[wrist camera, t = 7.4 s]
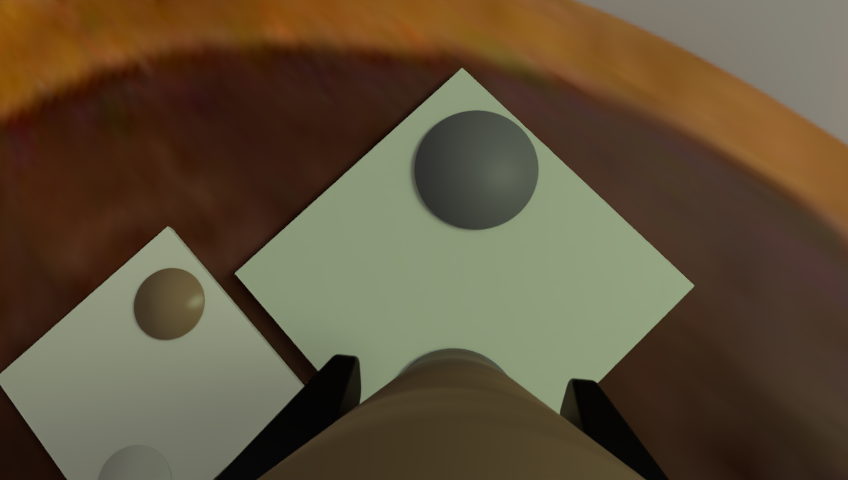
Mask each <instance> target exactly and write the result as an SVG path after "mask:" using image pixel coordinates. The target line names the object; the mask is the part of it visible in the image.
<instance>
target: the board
mask: <svg viewBox="0 0 848 480" xmlns="http://www.w3.org/2000/svg"><path fill="white" fill-rule="evenodd" d="M235 274H236V275H237V277H238V278H239V279H240V280H241V281H242V282H243V284H244V285H245V286H246V287H247V288H248V290H249V291H250V292H251V293H252V294H253V295H254V297H255V298H256V299H257V300H258V301H259V302H260V304H261V305H262V306H263V307H264V308H265V309H266V311H267V312H268V313H269V314H270V315H271V316H272V318H273V319H274V320H275V321H276V322H277V323H278V325H279V326H280V327H281V328H282V329H283V331H284V332H285V333H286V334H287V335H288V336H289V338H290V339H291V340H292V341H293V342H294V343H295V345H296V346H297V347H298V348H299V349H300V350H301V352H302V353H303V354H304V355H305V356H306V357H307V359H308V360H309V361H310V362H311V363H312V364H313V366H314V367H315V368H316V369H317V370H318V371H319V370H320V369H321V368H322V367H323V366H324V365H325V364H326V363H327V362H328V361H329V360H330V359H331V357H333V356H334V355H336V354H345V355H355V356H357V357H358V358H359V361H360V374H361V399H360V404H361V403H362V402H363V401H365V400H366V399H367V398H369V397H370V396H371V395H373V394H374V393H376V392H377V391H378V390H380V389H381V388H382V387H384V386H385V385H386V384H388V383H389V382H391V381H392V380H393V379H395V378H396V377H397V376H399V375H400V374H401V373H403V372H404V371H406V370H407V369H408V368H410V367H411V366H412V365H414V364H415V363H416V362H418V361H419V360H421V359H422V358H424V357H425V356H427V355H429V354H431V353H434V352H437V351H441V350H448V349H459V350H465V351H469V352H472V353H475V354H477V355H479V356H481V357H483V358H485V359H486V360H488V361H489V362H490V363H492V364H493V365H494V366H496V367H497V368H498V369H500V370H501V371H502V372H504V373H505V374H506V375H508V376H509V377H510V378H512V379H513V380H514V381H516V382H517V383H518V384H519V385H521V386H522V387H523V388H525V389H526V390H527V391H529V392H530V393H531V394H533V395H534V396H535V397H537V398H538V399H539V400H541V401H542V402H543V403H545V404H546V405H547V406H549V407H550V408H551V409H553V410H554V411H555V412H557V413H558V414H559V415H560V409H561V405H562V401H563V398H564V394H565V391H566V387H567V384H568V382H569V380H570V379H572V378H579V379H588V380H594V381H595V382H597V383H598V382H599V381H600V380H601V379H602V378H603V377H604V376H605V375H606V374H607V373H608V372H609V371H610V370H611V369H612V368H613V367H614V366H615V365H616V364H617V363H618V362H619V361H620V360H621V359H622V358H623V357H624V356H625V355H626V354H627V353H628V352H629V351H630V350H631V349H632V348H633V347H634V346H635V345H636V344H637V343H638V342H639V341H640V340H641V339H642V338H643V337H644V336H645V335H646V334H647V333H648V332H649V331H650V330H651V329H652V328H653V327H654V326H655V325H656V324H657V323H658V322H659V321H660V320H661V319H662V318H663V317H664V316H665V315H666V314H667V313H668V312H669V311H670V310H671V309H672V308H673V307H674V306H675V305H676V304H677V303H678V302H679V301H680V300H681V299H682V298H683V297H684V296H685V295H686V294H687V293H688V292H689V291H690V290H691V289H692V288H693V287H694V285H693V284H692V283H691V282H690V281H689V280H688V279H687V278H686V277H685V276H684V275H682V274H681V273H680V272H679V271H678V270H677V269H676V268H675V267H674V266H673V265H672V264H671V263H670V262H669V261H668V260H666V259H665V258H664V257H663V256H662V255H661V254H660V253H659V252H658V251H657V250H656V249H655V248H654V247H653V246H652V245H651V244H649V243H648V242H647V241H646V240H645V239H644V238H643V237H642V236H641V235H640V234H639V233H638V232H637V231H636V230H635V229H633V228H632V227H631V226H630V225H629V224H628V223H627V222H626V221H625V220H624V219H623V218H622V217H621V216H620V215H619V214H617V213H616V212H615V211H614V210H613V209H612V208H611V207H610V206H609V205H608V204H607V203H606V202H605V201H604V200H603V199H601V198H600V197H599V196H598V195H597V194H596V193H595V192H594V191H593V190H592V189H591V188H590V187H589V186H588V185H587V184H586V183H584V182H583V181H582V180H581V179H580V178H579V177H578V176H577V175H576V174H575V173H574V172H573V171H572V170H571V169H570V168H568V167H567V166H566V165H565V164H564V163H563V162H562V161H561V160H560V159H559V158H558V157H557V156H556V155H555V154H554V153H552V152H551V151H550V150H549V149H548V148H547V147H546V146H545V145H544V144H543V143H542V142H541V141H540V140H539V139H538V138H536V137H535V136H534V135H533V134H532V133H531V132H530V131H529V130H528V129H527V128H526V127H525V126H524V125H523V124H522V123H521V122H519V121H518V120H517V119H516V118H515V117H514V116H513V115H512V114H511V113H510V112H509V111H508V110H507V109H506V108H505V107H503V106H502V105H501V104H500V103H499V102H498V101H497V100H496V99H495V98H494V97H493V96H492V95H491V94H490V93H489V92H487V91H486V90H485V89H484V88H483V87H482V86H481V85H480V84H479V83H478V82H477V81H476V80H475V79H474V78H473V77H471V76H470V75H469V74H468V73H467V72H466V71H465V70H464V69H463V68H461V69H460V70H459V71H458V72H457V73H456V74H455V75H454V76H453V77H451V78H450V79H449V80H448V81H447V82H446V83H445V84H444V85H443V86H442V87H440V88H439V89H438V90H437V91H436V92H435V93H434V94H433V95H432V96H430V97H429V98H428V99H427V100H426V101H425V102H424V103H423V104H422V105H420V106H419V107H418V108H417V109H416V110H415V111H414V112H413V113H412V114H411V115H409V116H408V117H407V118H406V119H405V120H404V121H403V122H402V123H401V124H399V125H398V126H397V127H396V128H395V129H394V130H393V131H392V132H391V133H389V134H388V135H387V136H386V137H385V138H384V139H383V140H382V141H381V142H380V143H378V144H377V145H376V146H375V147H374V148H373V149H372V150H371V151H370V152H368V153H367V154H366V155H365V156H364V157H363V158H362V159H361V160H360V161H358V162H357V163H356V164H355V165H354V166H353V167H352V168H351V169H350V170H349V171H347V172H346V173H345V174H344V175H343V176H342V177H341V178H340V179H339V180H337V181H336V182H335V183H334V184H333V185H332V186H331V187H330V188H329V189H327V190H326V191H325V192H324V193H323V194H322V195H321V196H320V197H319V198H317V199H316V200H315V201H314V202H313V203H312V204H311V205H310V206H309V207H308V208H306V209H305V210H304V211H303V212H302V213H301V214H300V215H299V216H298V217H296V218H295V219H294V220H293V221H292V222H291V223H290V224H289V225H288V226H286V227H285V228H284V229H283V230H282V231H281V232H280V233H279V234H278V235H277V236H275V237H274V238H273V239H272V240H271V241H270V242H269V243H268V244H267V245H265V246H264V247H263V248H262V249H261V250H260V251H259V252H258V253H257V254H255V255H254V256H253V257H252V258H251V259H250V260H249V261H248V262H247V263H246V264H244V265H243V266H242V267H241V268H240V269H239V270H238V271H237V272H236V273H235Z"/></svg>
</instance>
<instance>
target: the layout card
mask: <svg viewBox="0 0 848 480" xmlns="http://www.w3.org/2000/svg"><path fill="white" fill-rule="evenodd" d="M0 385H1V386H2V388H3V389H4V391H5V392H6V394H7V395H8V396H9V398H10V399H11V401H12V402H13V403H14V405H15V406H16V408H17V409H18V411H19V412H20V413H21V415H22V416H23V418H24V419H25V420H26V422H27V423H28V425H29V426H30V428H31V429H32V430H33V432H34V433H35V435H36V436H37V437H38V439H39V440H40V442H41V443H42V445H43V446H44V447H45V449H46V450H47V452H48V453H49V454H50V456H51V457H52V459H53V460H54V462H55V463H56V464H57V466H58V467H59V469H60V470H61V471H62V473H63V474H64V476H65V477H66V479H67V480H214V479H215V478H216V477H217V476H218V475H219V474H220V473H221V472H222V471H223V470H224V469H225V468H226V467H227V466H228V465H229V464H230V463H231V462H232V461H233V460H234V459H235V458H236V457H237V456H238V455H239V454H240V453H241V452H242V451H243V450H244V448H245V447H246V446H247V445H248V444H249V443H250V442H251V441H252V440H253V439H254V438H255V437H256V436H257V435H258V434H259V433H260V432H261V431H262V430H263V429H264V428H265V427H266V425H267V424H268V423H269V422H270V421H271V420H272V419H273V418H274V417H275V416H276V415H277V414H278V413H279V412H280V411H281V410H282V409H283V408H284V407H285V406H286V405H287V403H288V402H289V401H290V400H291V399H292V398H293V397H294V396H295V395H296V394H297V393H298V392H299V391H300V390H301V389H302V388H303V387H304V385H303V383H302V382H301V381H300V380H299V379H298V378H297V376H296V375H295V374H294V373H293V372H292V370H291V369H290V368H289V367H288V366H287V364H286V363H285V362H284V361H283V360H282V359H281V357H280V356H279V355H278V354H277V353H276V351H275V350H274V349H273V348H272V347H271V345H270V344H269V343H268V342H267V341H266V340H265V338H264V337H263V336H262V335H261V334H260V332H259V331H258V330H257V329H256V328H255V326H254V325H253V324H252V323H251V322H250V321H249V319H248V318H247V317H246V316H245V315H244V313H243V312H242V311H241V310H240V309H239V307H238V306H237V305H236V304H235V303H234V302H233V300H232V299H231V298H230V297H229V296H228V294H227V293H226V292H225V291H224V290H223V288H222V287H221V286H220V285H219V284H218V283H217V281H216V280H215V279H214V278H213V277H212V275H211V274H210V273H209V272H208V271H207V269H206V268H205V267H204V266H203V265H202V264H201V262H200V261H199V260H198V259H197V258H196V256H195V255H194V254H193V253H192V252H191V250H190V249H189V248H188V247H187V246H186V245H185V243H184V242H183V241H182V240H181V239H180V237H179V236H178V235H177V234H176V233H175V231H174V230H173V229H172V228H171V227H166V228H165V229H164V230H163V231H162V232H161V233H160V234H159V235H157V236H156V237H155V238H154V239H153V240H152V241H151V242H149V243H148V244H147V245H146V246H145V247H144V248H143V249H141V250H140V251H139V252H138V253H137V254H136V255H135V256H134V257H132V258H131V259H130V260H129V261H128V262H127V263H126V264H124V265H123V266H122V267H121V268H120V269H119V270H118V271H117V272H115V273H114V274H113V275H112V276H111V277H110V278H109V279H107V280H106V281H105V282H104V283H103V284H102V285H101V286H99V287H98V288H97V289H96V290H95V291H94V292H93V293H92V294H90V295H89V296H88V297H87V298H86V299H85V300H84V301H82V302H81V303H80V304H79V305H78V306H77V307H76V308H75V309H73V310H72V311H71V312H70V313H69V314H68V315H67V316H65V317H64V318H63V319H62V320H61V321H60V322H59V323H57V324H56V325H55V326H54V327H53V328H52V329H51V330H50V331H48V332H47V333H46V334H45V335H44V336H43V337H42V338H40V339H39V340H38V341H37V342H36V343H35V344H34V345H33V346H31V347H30V348H29V349H28V350H27V351H26V352H25V353H23V354H22V355H21V356H20V357H19V358H18V359H17V360H15V361H14V362H13V363H12V364H11V365H10V366H9V367H8V368H6V369H5V370H4V371H3V372H2V373H1V374H0Z"/></svg>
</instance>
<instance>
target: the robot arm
mask: <svg viewBox="0 0 848 480" xmlns="http://www.w3.org/2000/svg"><path fill="white" fill-rule="evenodd" d="M360 399H361V374H360V361H359V358H358V357H357V356H355V355H345V354H336V355H334V356H333V357H331V359H330V360H329V361H328V362H327V363H326V364H325V365H324V366H323V367H322V368H321V369H320V370H319V371H318V372H317V373H316V374H315V375H314V376H313V377H312V378H311V379H310V380H309V382H308V383H307V384H306V385H305V386H304V387H303V388H302V389H301V390H300V391H299V392H298V393H297V394H296V395H295V396H294V397H293V398H292V399H291V400H290V401H289V402H288V403H287V405H286V406H285V407H284V408H283V409H282V410H281V411H280V412H279V413H278V414H277V415H276V416H275V417H274V418H273V419H272V420H271V421H270V422H269V423H268V424H267V425H266V427H265V428H264V429H263V430H262V431H261V432H260V433H259V434H258V435H257V436H256V437H255V438H254V439H253V440H252V441H251V442H250V443H249V444H248V445H247V446H246V447H245V448H244V450H243V451H242V452H241V453H240V454H239V455H238V456H237V457H236V458H235V459H234V460H233V461H232V462H231V463H230V464H229V465H228V466H227V467H226V468H225V469H224V470H223V471H222V473H221V474H220V475H219V476H218V477H217V478H216V479H215V480H257V479H258V478H260V477H261V476H262V475H264V474H265V473H266V472H268V471H269V470H271V469H272V468H273V467H275V466H276V465H277V464H279V463H280V462H281V461H283V460H284V459H286V458H287V457H288V456H290V455H291V454H292V453H294V452H295V451H296V450H298V449H299V448H301V447H302V446H303V445H305V444H306V443H307V442H309V441H310V440H311V439H313V438H314V437H316V436H317V435H318V434H320V433H321V432H322V431H324V430H325V429H326V428H328V427H329V426H331V425H332V424H333V423H335V422H336V421H337V420H339V419H340V418H341V417H343V416H344V415H346V414H347V413H348V412H350V411H351V410H352V409H354V408H355V407H356V406H358V405H359V404H360ZM560 415H561V416H562V417H563V418H565V419H566V420H567V421H569V422H570V423H571V424H573V425H574V426H575V427H577V428H578V429H579V430H581V431H582V432H583V433H585V434H586V435H587V436H588V437H590V438H591V439H592V440H594V441H595V442H596V443H598V444H599V445H600V446H602V447H603V448H604V449H606V450H607V451H608V452H610V453H611V454H612V455H614V456H615V457H616V458H618V459H619V460H620V461H622V462H623V463H624V464H626V465H627V466H628V467H630V468H631V469H632V470H634V471H635V472H636V473H638V474H639V475H640V476H642V477H643V478H644V479H646V480H669V479H668V477H667V476H666V475H665V473H664V472H663V471H662V469H661V468H660V467H659V465H658V464H657V463H656V461H655V460H654V458H653V457H652V456H651V454H650V453H649V452H648V450H647V449H646V448H645V446H644V445H643V444H642V442H641V441H640V440H639V438H638V437H637V436H636V434H635V433H634V432H633V430H632V429H631V427H630V426H629V425H628V423H627V422H626V421H625V419H624V418H623V417H622V415H621V414H620V413H619V411H618V410H617V409H616V407H615V406H614V405H613V403H612V402H611V401H610V399H609V398H608V396H607V395H606V394H605V392H604V391H603V390H602V388H601V387H600V386H599V384H598V383H597V382H595V381H594V380H588V379H579V378H572V379H570V380H569V382H568V384H567V387H566V391H565V394H564V398H563V401H562V405H561V409H560Z"/></svg>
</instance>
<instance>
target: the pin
mask: <svg viewBox="0 0 848 480" xmlns="http://www.w3.org/2000/svg"><path fill="white" fill-rule="evenodd" d="M257 480H646V479H644V478H643V477H642V476H640V475H639V474H638V473H636V472H635V471H634V470H632V469H631V468H630V467H628V466H627V465H626V464H624V463H623V462H622V461H620V460H619V459H618V458H616V457H615V456H614V455H612V454H611V453H610V452H608V451H607V450H606V449H604V448H603V447H602V446H600V445H599V444H598V443H596V442H595V441H594V440H592V439H591V438H590V437H588V436H587V435H586V434H585V433H583V432H582V431H581V430H579V429H578V428H577V427H575V426H574V425H573V424H571V423H570V422H569V421H567V420H566V419H565V418H563V417H562V416H561V415H559V414H558V413H557V412H555V411H554V410H553V409H551V408H550V407H549V406H547V405H546V404H545V403H543V402H542V401H541V400H539V399H538V398H537V397H535V396H534V395H533V394H531V393H530V392H529V391H527V390H526V389H525V388H523V387H522V386H521V385H519V384H518V383H517V382H516V381H514V380H513V379H512V378H510V377H509V376H508V375H506V374H505V373H504V372H502V371H501V370H500V369H498V368H497V367H496V366H494V365H493V364H492V363H490V362H489V361H488V360H486V359H485V358H483V357H481V356H479V355H477V354H475V353H472V352H469V351H465V350H459V349H448V350H441V351H437V352H434V353H431V354H429V355H427V356H425V357H424V358H422V359H421V360H419V361H418V362H416V363H415V364H414V365H412V366H411V367H410V368H408V369H407V370H406V371H404V372H403V373H401V374H400V375H399V376H397V377H396V378H395V379H393V380H392V381H391V382H389V383H388V384H386V385H385V386H384V387H382V388H381V389H380V390H378V391H377V392H376V393H374V394H373V395H371V396H370V397H369V398H367V399H366V400H365V401H363V402H362V403H361V404H359V405H358V406H356V407H355V408H354V409H352V410H351V411H350V412H348V413H347V414H346V415H344V416H343V417H341V418H340V419H339V420H337V421H336V422H335V423H333V424H332V425H331V426H329V427H328V428H326V429H325V430H324V431H322V432H321V433H320V434H318V435H317V436H316V437H314V438H313V439H311V440H310V441H309V442H307V443H306V444H305V445H303V446H302V447H301V448H299V449H298V450H296V451H295V452H294V453H292V454H291V455H290V456H288V457H287V458H286V459H284V460H283V461H281V462H280V463H279V464H277V465H276V466H275V467H273V468H272V469H271V470H269V471H268V472H266V473H265V474H264V475H262V476H261V477H260V478H258V479H257Z"/></svg>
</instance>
